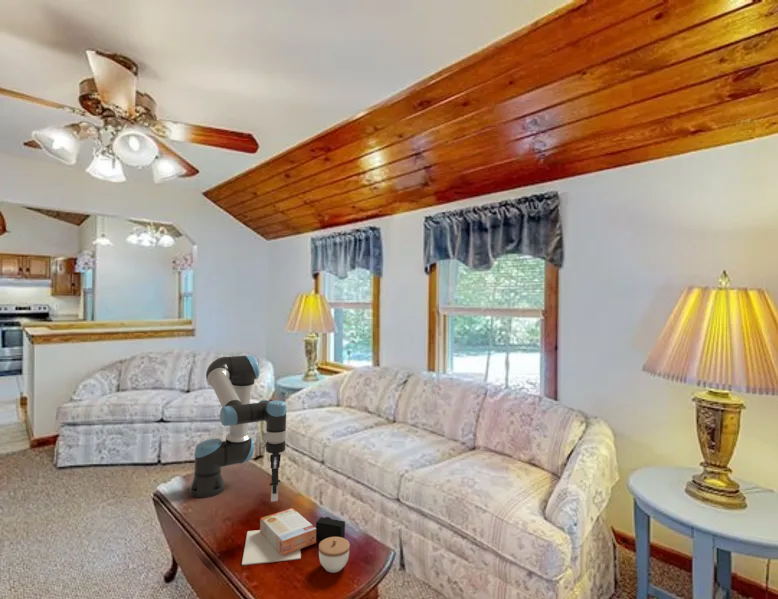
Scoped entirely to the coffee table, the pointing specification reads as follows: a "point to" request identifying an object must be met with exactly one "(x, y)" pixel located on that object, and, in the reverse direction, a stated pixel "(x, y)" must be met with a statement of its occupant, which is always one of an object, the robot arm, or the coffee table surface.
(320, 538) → the digital camera
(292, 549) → the cracker box
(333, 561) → the lidded jar
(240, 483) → the coffee table surface
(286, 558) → the mat
